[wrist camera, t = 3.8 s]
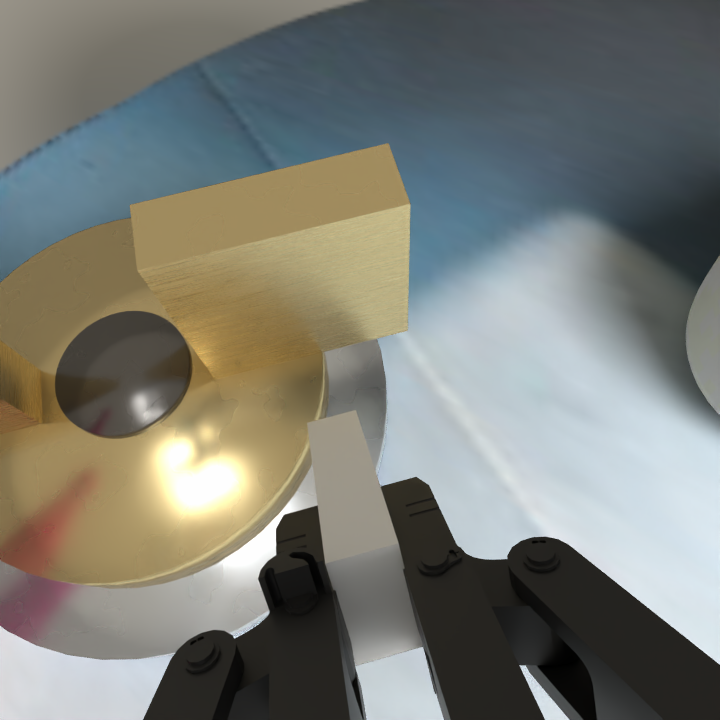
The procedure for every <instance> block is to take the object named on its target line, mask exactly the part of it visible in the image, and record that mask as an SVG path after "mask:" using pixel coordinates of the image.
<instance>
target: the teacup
mask: <svg viewBox="0 0 720 720" xmlns="http://www.w3.org/2000/svg"><path fill="white" fill-rule="evenodd" d="M686 349H687V356H688V360H689V364H690V367H691V370H692V373H693V375H694V378H695V380H696V382H697V385H698V387H699V388H700V390H701V391H702V393H703V394H704V396H705V398H706V399H707V401H708V402H709V403H710V405H711V406H712V407H713V408H714V409H715V411H716V412H717V413H718V414H719V415H720V255H719V257H718V259H717V260H716V262H715V263H714V265H713V266H712V268H711V269H710V271H709V272H708V274H707V276H706V277H705V279H704V281H703V282H702V284H701V286H700V288H699V290H698V292H697V294H696V296H695V298H694V300H693V303H692V306H691V309H690V311H689V316H688V321H687V326H686Z"/></svg>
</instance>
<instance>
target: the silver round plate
mask: <svg viewBox="0 0 720 720" xmlns="http://www.w3.org/2000/svg"><path fill="white" fill-rule="evenodd" d="M325 356H326V362H327V369H328V376H329V404H328V410H327V417H331V416H335V415H339V414H342V413H346V412H350V411H354V410H356V412H357V415H358V418H359V421H360V425H361V428H362V431H363V434H364V437H365V440H366V443H367V446H368V450H369V453H370V456H371V459H372V462H373V465H374V468H375V471H376V474H377V475H378V471H379V467H380V463H381V459H382V455H383V451H384V446H385V436H386V426H387V396H386V378H385V372H384V366H383V361H382V355H381V350H380V347H379V344H378V341H377V339H373V340H369V341H365V342H361V343H357V344H353V345H349V346H345V347H342V348H338V349H334V350H330V351H326V352H325ZM327 417H326V418H327ZM317 505H318V504H317V496H316V488H315V480H314V472H313V465H311V467H310V469H309V471H308V473H307V475H306V476H305V478H304V480H303V481H302V483H301V485H300V486H299V488H298V490H297V492H296V493H295V494H294V496H293V497H292V498H291V500H290V501H289V502H288V503H287V505H286V506H285V507H284V509H283V510H282V511H281V513H280V514H279V515H278V516H277V517H276V518H275V519H274V520H273V521H272V522H271V523H270V524H269V525H268V526H267V527H266V528H265V529H264V530H263V531H262V532H261V533H260V534H259V535H257V536H256V537H255V538H254V539H252V540H251V541H250V542H248V543H247V544H246V545H245V546H243V547H242V548H241V549H240V550H238V551H237V552H235V553H233V554H232V555H230V556H228V557H227V558H225V559H223V560H222V561H220V562H218V563H217V564H215V565H213V566H211V567H209V568H206V569H204V570H202V571H200V572H197V573H195V574H193V575H191V576H188V577H184V578H181V579H178V580H175V581H171V582H168V583H165V584H159V585H153V586H147V587H141V588H120V589H109V588H101V587H93V586H85V585H79V584H73V583H67V582H61V581H55V580H50V579H47V578H43V577H40V576H36V575H33V574H29V573H26V572H24V571H22V570H19V569H17V568H15V567H13V566H11V565H9V564H7V563H4V562H2V561H1V560H0V626H1V627H3V628H4V629H6V630H7V631H9V632H11V633H13V634H15V635H17V636H19V637H21V638H23V639H25V640H27V641H29V642H31V643H33V644H35V645H37V646H40V647H44V648H47V649H50V650H54V651H57V652H60V653H63V654H67V655H72V656H80V657H87V658H94V659H102V660H107V659H144V658H154V657H160V656H166V655H172V654H175V653H176V651H177V650H178V649H179V648H180V647H181V646H182V645H183V644H184V643H185V642H187V641H188V640H189V639H191V638H193V637H194V636H196V635H198V634H200V633H203V632H207V631H211V630H223V631H226V632H228V633H229V634H231V635H235V634H237V633H240V632H242V631H244V630H246V629H248V628H250V627H252V626H254V625H255V624H257V623H258V622H260V621H262V620H263V619H265V618H266V617H267V616H268V615H269V608H268V606H267V603H266V600H265V597H264V594H263V592H262V589H261V586H260V583H259V580H258V577H259V573H260V570H261V569H262V567H263V566H264V565H265V564H266V562H267V561H268V560H270V559H271V558H273V557H274V556H275V555H276V528H277V526H278V524H279V522H280V520H281V519H282V517H283V515H284V514H288V513H292V512H295V511H299V510H303V509H306V508H310V507H314V506H317Z"/></svg>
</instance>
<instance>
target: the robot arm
mask: <svg viewBox="0 0 720 720" xmlns="http://www.w3.org/2000/svg"><path fill="white" fill-rule="evenodd" d="M307 425H308V433H309V441H310V449H311V457H312V465H313V472H314V480H315V488H316V496H317V504H318V505H317V506H314V507H310V508H306V509H303V510H299V511H295V512H292V513H288V514H284V515H283V517H282V519H281V520H280V522H279V524H278V526H277V528H276V555H275V556H274V557H273V558H271V559H270V560H268V561H267V562H266V564H265V565H264V566H263V567H262V569H261V570H260V573H259V577H258V580H259V583H260V586H261V589H262V592H263V594H264V597H265V600H266V603H267V606H268V608H269V615H268V616H267V617H266V618H265V619H264V620H263V621H262V622H261V623H260V624H259V625H257V626H256V627H254V628H253V629H251V630H250V631H248V632H246V633H245V634H243V635H241V636H239V637H237V638H235V639H234V638H233V635H231V634H229V633H228V632H226V631H223V630H211V631H207V632H203V633H200V634H198V635H196V636H194V637H193V638H191V639H189V640H188V641H187V642H185V643H184V644H183V645H182V646H181V647H180V648H179V649H178V650H177V651H176V653H175V654H174V656H173V657H172V659H171V660H170V663H169V665H168V667H167V669H166V671H165V673H164V676H163V678H162V680H161V682H160V684H159V686H158V689H157V691H156V693H155V695H154V697H153V699H152V702H151V704H150V706H149V708H148V710H147V712H146V715H145V717H144V719H143V720H366V714H365V708H364V702H363V696H362V690H361V685H360V682H359V679H358V675H357V672H356V669H355V664H356V666H357V665H361V664H364V663H368V662H371V661H375V660H378V659H381V658H385V657H388V656H392V655H395V654H399V653H402V652H406V651H409V650H413V649H416V648H419V647H424V651H425V655H426V659H427V664H428V668H429V672H430V676H431V680H432V684H433V688H434V692H435V694H437V698H438V701H439V704H440V708H441V711H442V714H443V718H444V720H545V719H544V717H543V715H542V713H541V710H540V708H539V706H538V704H537V702H536V700H535V698H534V696H533V694H532V692H531V689H530V687H529V685H528V683H527V681H526V679H525V677H524V675H523V673H522V670H521V668H520V666H519V665H526V667H527V668H528V670H529V672H530V674H531V675H532V676H533V677H534V678H535V679H536V681H537V682H538V683H539V684H540V685H541V686H542V688H543V689H544V690H545V691H546V692H547V694H548V695H549V696H550V697H551V698H552V699H553V701H554V702H555V703H556V704H557V705H558V707H559V708H560V709H561V710H562V711H563V712H564V714H565V715H566V716H567V717H568V718H569V719H570V720H720V665H719V664H718V663H717V662H715V661H714V660H713V659H712V658H710V657H709V656H708V655H707V654H705V653H704V652H703V651H702V650H700V649H699V648H698V647H697V646H695V645H694V644H693V643H692V642H690V641H689V640H688V639H686V638H685V637H684V636H683V635H681V634H680V633H679V632H678V631H676V630H675V629H674V628H673V627H671V626H670V625H669V624H668V623H666V622H665V621H664V620H663V619H661V618H660V617H659V616H658V615H656V614H655V613H654V612H652V611H651V610H650V609H649V608H647V607H646V606H645V605H644V604H642V603H641V602H640V601H639V600H637V599H636V598H635V597H634V596H632V595H631V594H630V593H629V592H627V591H626V590H625V589H623V588H622V587H621V586H620V585H618V584H617V583H616V582H615V581H613V580H612V579H611V578H610V577H608V576H607V575H606V574H605V573H603V572H602V571H601V570H600V569H598V568H597V567H596V566H595V565H593V564H592V563H591V562H589V561H588V560H587V559H586V558H584V557H583V556H582V555H581V554H579V553H578V552H577V551H576V550H574V549H573V548H572V547H571V546H569V545H568V544H566V543H564V542H562V541H560V540H559V539H554V538H549V537H532V538H529V539H526V540H523V541H520V542H519V543H518V544H516V545H515V546H513V547H512V549H511V550H510V552H509V554H508V555H507V557H508V559H502V560H485V559H479V558H474V557H472V556H470V555H467V554H466V553H465V552H464V551H463V550H462V549H461V548H460V547H458V546H457V544H456V543H455V540H454V538H453V536H452V534H451V532H450V530H449V528H448V525H447V523H446V521H445V519H444V517H443V515H442V512H441V510H440V509H439V506H438V504H437V502H436V500H435V498H434V495H433V493H432V491H431V489H430V487H429V485H428V484H426V483H425V482H423V481H422V480H420V479H419V478H417V477H414V478H410V479H407V480H403V481H399V482H396V483H392V484H388V485H385V486H381V487H380V484H379V481H378V478H377V474H376V471H375V468H374V465H373V462H372V459H371V456H370V453H369V450H368V446H367V443H366V440H365V437H364V434H363V431H362V428H361V425H360V421H359V418H358V415H357V412H356V410H354V411H350V412H346V413H342V414H339V415H335V416H331V417H327V418H324V419H320V420H316V421H312V422H309V423H307ZM354 660H355V662H354Z"/></svg>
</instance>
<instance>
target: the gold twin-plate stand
mask: <svg viewBox="0 0 720 720" xmlns="http://www.w3.org/2000/svg"><path fill="white" fill-rule="evenodd" d="M130 212H131V218H127V219H121V220H116V221H112V222H109V223H105V224H101V225H97V226H94V227H91V228H89V229H86V230H83V231H81V232H78V233H75V234H73V235H71V236H69V237H67V238H65V239H63V240H61V241H59V242H56V243H54V244H52V245H51V246H49V247H47V248H46V249H44V250H43V251H41V252H39V253H38V254H36V255H34V256H33V257H31V258H30V259H29V260H27V261H26V262H25V263H23V264H22V265H21V266H19V267H18V268H17V269H15V270H14V271H13V272H11V273H10V274H9V275H8V276H7V277H6V278H5V279H4V280H3V281H2V282H1V283H0V560H1V561H2V562H4V563H7V564H9V565H11V566H13V567H15V568H17V569H19V570H22V571H24V572H26V573H29V574H33V575H36V576H40V577H43V578H47V579H50V580H55V581H61V582H67V583H73V584H79V585H85V586H93V587H101V588H109V589H120V588H141V587H147V586H153V585H159V584H165V583H168V582H171V581H175V580H178V579H181V578H184V577H188V576H191V575H193V574H195V573H197V572H200V571H202V570H204V569H206V568H209V567H211V566H213V565H215V564H217V563H218V562H220V561H222V560H223V559H225V558H227V557H228V556H230V555H232V554H233V553H235V552H237V551H238V550H240V549H241V548H242V547H243V546H245V545H246V544H247V543H248V542H250V541H251V540H252V539H254V538H255V537H256V536H257V535H259V534H260V533H261V532H262V531H263V530H264V529H265V528H266V527H267V526H268V525H269V524H270V523H271V522H272V521H273V520H274V519H275V518H276V517H277V516H278V515H279V514H280V513H281V511H282V510H283V509H284V507H285V506H286V505H287V503H288V502H289V501H290V500H291V498H292V497H293V496H294V494H295V493H296V492H297V490H298V488H299V486H300V485H301V483H302V481H303V480H304V478H305V476H306V475H307V473H308V471H309V469H310V467H311V465H312V457H311V449H310V441H309V433H308V425H307V423H309V422H312V421H316V420H320V419H324V418H326V417H327V410H328V404H329V376H328V369H327V362H326V356H325V352H326V351H330V350H334V349H338V348H342V347H345V346H349V345H353V344H357V343H361V342H365V341H369V340H373V339H377V338H381V337H385V336H389V335H393V334H397V333H400V332H404V331H408V287H409V241H410V201H409V199H408V196H407V193H406V190H405V188H404V185H403V182H402V179H401V177H400V174H399V171H398V168H397V166H396V163H395V160H394V157H393V155H392V152H391V149H390V146H389V144H388V143H387V144H383V145H379V146H375V147H370V148H366V149H362V150H358V151H354V152H349V153H345V154H341V155H337V156H333V157H329V158H324V159H320V160H316V161H312V162H308V163H303V164H299V165H295V166H291V167H287V168H282V169H278V170H274V171H270V172H266V173H261V174H257V175H253V176H249V177H245V178H241V179H236V180H232V181H228V182H224V183H220V184H215V185H211V186H207V187H203V188H199V189H194V190H190V191H186V192H182V193H178V194H173V195H169V196H165V197H161V198H157V199H153V200H148V201H144V202H140V203H136V204H132V205H130Z"/></svg>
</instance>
